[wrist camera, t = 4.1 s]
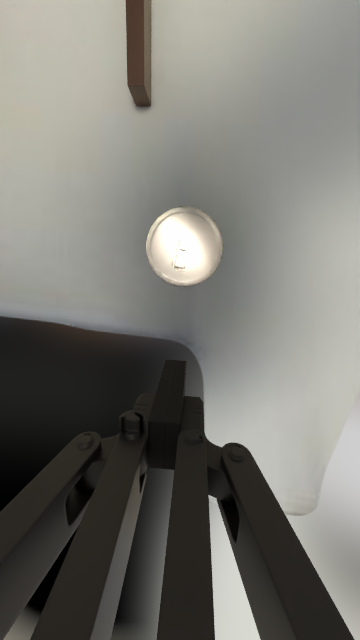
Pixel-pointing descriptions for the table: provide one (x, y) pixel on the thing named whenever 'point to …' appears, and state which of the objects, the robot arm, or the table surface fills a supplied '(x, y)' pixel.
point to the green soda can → (184, 246)
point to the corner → (139, 50)
